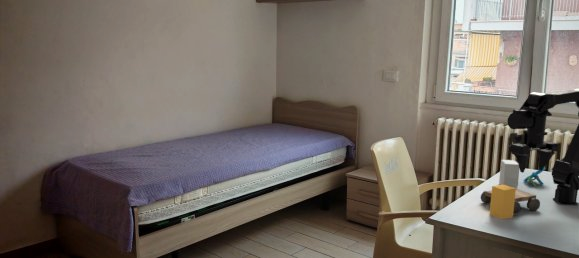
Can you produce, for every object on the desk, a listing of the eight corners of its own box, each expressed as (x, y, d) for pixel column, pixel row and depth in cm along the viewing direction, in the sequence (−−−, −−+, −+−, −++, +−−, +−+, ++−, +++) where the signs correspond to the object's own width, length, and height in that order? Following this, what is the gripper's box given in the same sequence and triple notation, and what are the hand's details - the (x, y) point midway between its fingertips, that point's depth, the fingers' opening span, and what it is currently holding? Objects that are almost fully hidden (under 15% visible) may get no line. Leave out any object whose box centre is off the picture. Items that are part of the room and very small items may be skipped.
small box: (517, 190, 201) (520, 164, 199) (502, 189, 202) (505, 163, 200) (512, 184, 209) (515, 160, 207) (498, 183, 210) (501, 159, 208)
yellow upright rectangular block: (500, 212, 174) (503, 184, 172) (512, 216, 170) (515, 188, 168) (489, 214, 172) (492, 186, 170) (501, 218, 167) (504, 190, 166)
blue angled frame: (530, 175, 218) (547, 163, 210) (539, 186, 216) (557, 175, 208) (516, 182, 212) (533, 170, 204) (526, 194, 209) (543, 182, 202)
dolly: (508, 198, 189) (509, 186, 188) (539, 210, 177) (540, 196, 176) (480, 202, 184) (481, 189, 183) (510, 215, 171) (511, 201, 170)
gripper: (535, 123, 187) (531, 163, 190) (498, 125, 180) (494, 167, 183) (562, 128, 177) (556, 171, 180) (524, 131, 170) (519, 175, 173)
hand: (531, 171), depth 179 cm, fingers open, 9 cm apart
